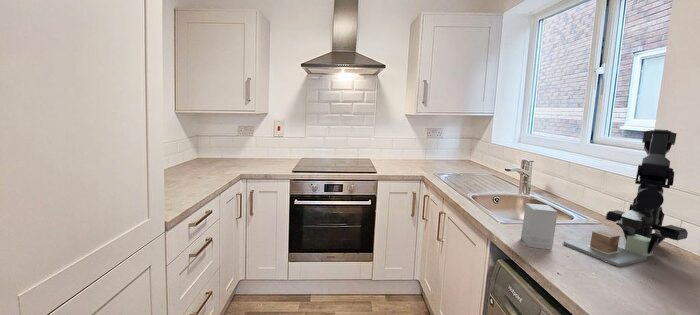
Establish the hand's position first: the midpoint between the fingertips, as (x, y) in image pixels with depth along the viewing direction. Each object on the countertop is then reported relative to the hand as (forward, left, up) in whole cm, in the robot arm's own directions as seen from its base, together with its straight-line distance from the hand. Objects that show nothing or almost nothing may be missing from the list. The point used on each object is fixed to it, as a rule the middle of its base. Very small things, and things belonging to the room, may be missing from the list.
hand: (638, 249), depth 103 cm
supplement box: (+27, -15, -1) cm, 31 cm away
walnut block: (+11, -4, 0) cm, 12 cm away
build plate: (+11, -4, -1) cm, 12 cm away
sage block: (0, 0, -1) cm, 1 cm away
